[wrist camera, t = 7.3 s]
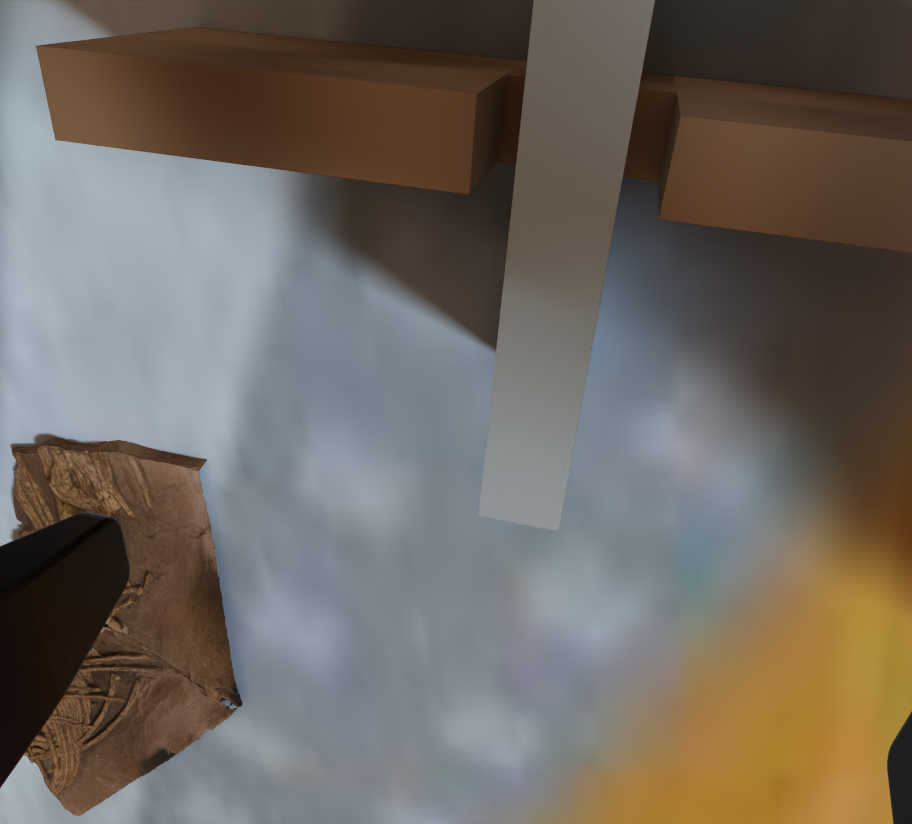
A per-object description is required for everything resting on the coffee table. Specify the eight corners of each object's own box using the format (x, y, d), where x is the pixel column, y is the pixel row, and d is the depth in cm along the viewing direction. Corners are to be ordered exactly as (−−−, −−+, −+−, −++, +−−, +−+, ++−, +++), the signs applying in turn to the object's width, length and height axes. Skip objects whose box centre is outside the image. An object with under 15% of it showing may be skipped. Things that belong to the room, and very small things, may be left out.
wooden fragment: (41, 356, 23) (16, 371, 22) (349, 534, 24) (337, 556, 23) (-43, 740, 37) (-60, 758, 36) (152, 843, 38) (140, 864, 37)
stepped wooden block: (1089, 117, 14) (1281, 181, 9) (1049, 199, 14) (1210, 291, 10) (193, 27, 16) (36, 46, 12) (201, 99, 17) (55, 139, 13)
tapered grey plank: (696, -244, 12) (726, -394, 7) (583, 380, 19) (558, 531, 14) (606, -248, 13) (575, -394, 8) (524, 370, 19) (478, 515, 14)
